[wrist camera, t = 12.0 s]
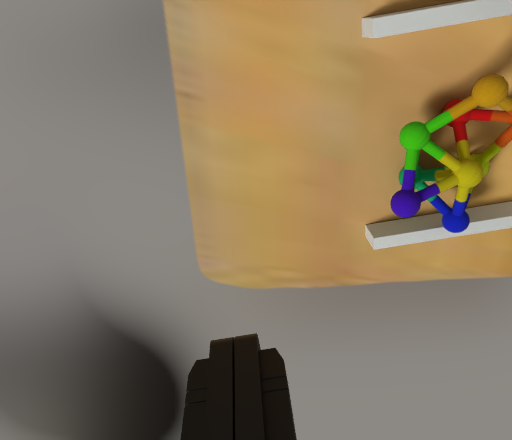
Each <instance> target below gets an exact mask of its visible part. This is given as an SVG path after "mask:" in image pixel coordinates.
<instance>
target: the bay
mask: <svg viewBox="0 0 512 440" xmlns="http://www.w3.org/2000/svg"><path fill="white" fill-rule="evenodd" d="M511 14H512V0H463V1H457V2H452V3H446V4H440V5H435V6H429V7H423V8H417V9H412V10H406V11H400V12H394V13H389V14H383V15H377V16H372V17H366V18H362V37H367V38H379V37H385V36H390V35H396V34H402V33H408V32H413V31H419V30H425V29H431V28H437V27H442V26H448V25H454V24H460V23H465V22H471V21H477V20H483V19H488V18H494V17H500V16H506V15H511ZM465 211H466V212H467V213H468V215H469V218H470V223H469V226H468V227H467V229H466V230H464V231H462V232H460V233H452V232H449V231H447V230H446V229H445V228H444V227H443V225H442V217H443V215H442V214H441V213H436V214H430V215H424V216H418V217H411V218H405V219H399V220H393V221H387V222H381V223H374V224H368V225H365V229H366V237H367V239H368V241H369V242H370V244H371V246H372V247H373V249H374V250H375V249H381V248H387V247H394V246H400V245H406V244H412V243H419V242H425V241H431V240H437V239H444V238H450V237H456V236H462V235H469V234H475V233H481V232H487V231H493V230H500V229H506V228H512V201H510V202H504V203H498V204H492V205H485V206H479V207H473V208H467V209H465Z"/></svg>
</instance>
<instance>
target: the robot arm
mask: <svg viewBox="0 0 512 440" xmlns="http://www.w3.org/2000/svg"><path fill="white" fill-rule="evenodd" d="M181 440H297V439H296V433H295V426H294V420H293V413H292V407H291V400H290V394H289V388H288V382H287V376H286V370H285V364H284V360H283V358H282V357H281V355H280V354H279V353H278V351H277V350H276V348H271V349H265V350H261V349H260V344H259V339H258V335H257V334H250V335H243V336H237V337H235V339H234V337H232V338H225V339H218V340H212V341H211V342H210V354H209V358H208V359H202V360H196V362H195V364H194V366H193V367H192V369H191V371H190V373H189V375H188V382H187V394H186V399H185V408H184V417H183V424H182V433H181Z"/></svg>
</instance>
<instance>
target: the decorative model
mask: <svg viewBox="0 0 512 440" xmlns="http://www.w3.org/2000/svg"><path fill="white" fill-rule="evenodd" d="M507 94H508V83H507V81H506V80H505V79H504V77H502V76H500V75H496V74H492V75H487V76H484V77H482V78H481V79H479V80H478V81H477V82H476V83H475V85H474V87H473V90H472V95H471V96H469V97H468V98H466V99H464V100H460V99H457V100H454V101H451V102H449V103H448V104H447V105H446V106H445V108H444V110H443V113H442V114H440V115H438V116H437V117H435V118H433V119H432V120H430V121H428V122H427V123H425V124H424V123H421V122H411V123H409V124H407V125H405V126H404V127H403V129H402V130H401V132H400V143H401V145H402V146H403V147H404V148H405V149H407V152H406V159H405V167H404V168H402V170H401V171H400V173H399V182H400V184H401V185H402V189H401V190H400V191H398V192H396V193H395V194H394V195H393V197H392V199H391V208H392V211H393V212H394V213H395V214H396V215H398V216H400V217H411V216H413V215H415V214H416V213H417V212H418V211H419V209H420V206H421V202H422V201H425V200H428V201H429V202H430V203H431V204H432V205H433V206H434V207H435V208H436V209H437V210H438V211H439V212H440V213H441V214H442V215H443V217H442V225H443V227H444V228H445V229H446V230H447V231H449V232H452V233H460V232H462V231H464V230H466V229H467V227H468V226H469V223H470V218H469V215H468V213H467V212H466V211H465V209H466V207H467V204H468V201H469V198H470V195H471V193H472V190H473V187H474V186H476V185H478V184H479V183H480V182H481V180H482V178H483V176H485V175H486V174H487V173H488V171H489V160H490V159H492V158H493V157H494V156H495V155H496V154H497V153H498V152H499V151H500V150H501V149H502V148H503V147H505V146H506V145H507V144H508V143H509V142H510V141H511V140H512V98H510V97H509V96H508V95H507ZM496 105H498V106H499V107H500V108H502V109H503V110H505V111H499V110H483V109H474V108H476V107H477V106H481V107H484V108H490V107H494V106H496ZM469 120H480V121H493V122H507V123H511V126H510V127H509V128H508V129H507V130H506V131H505V132H503V133H502V134H501V135H500V136H499V137H498V138H497V139H496V140H495V141H494V142H493V143H492V144H491V145H490V146H489V147H488V148H487V149H486V150H485V151H484V152H483V153H482V154H481V155H480V154H473V155H470V150H469V144H468V138H467V132H466V126H465V124H466V123H467V122H468V121H469ZM446 124H447V125H449V126H451V127H453V129H454V135H455V141H456V147H457V153H458V159H459V160H457V159H456V158H455V157H453V156H452V155H450V154H449V153H448V152H446V151H445V150H444V149H442V148H441V147H439V146H438V145H437V144H435V143H434V142H432V141H431V140H430V134H431V133H432V132H434V131H436V130H437V129H439V128H441V127H443V126H444V125H446ZM420 149H423V150H424V151H425V152H427V153H428V154H430V155H431V156H433V157H434V158H435V159H437V160H438V161H440V162H441V163H442V164H444V165H445V167H439V168H433V169H427V170H423V169H422V168H421V167H420V166H418V161H419V151H420ZM424 181H439V182H436V183H434V184H432V185H430V186H428V185H427V184H426V183H425V182H424ZM456 185H458V189H457V193H456V197H455V201H454V205H453V208H452V209H451V208H450V207H449V206H448V205H447V204H446V203H445V202H444V201H443V200H442V199H441V198H440V197H439V196H438V195H437V194H439V193H441V192H443V191H446V190H448V189H450V188H452V187H454V186H456ZM415 188H416V189H417V190H418V192H414V189H415Z"/></svg>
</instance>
